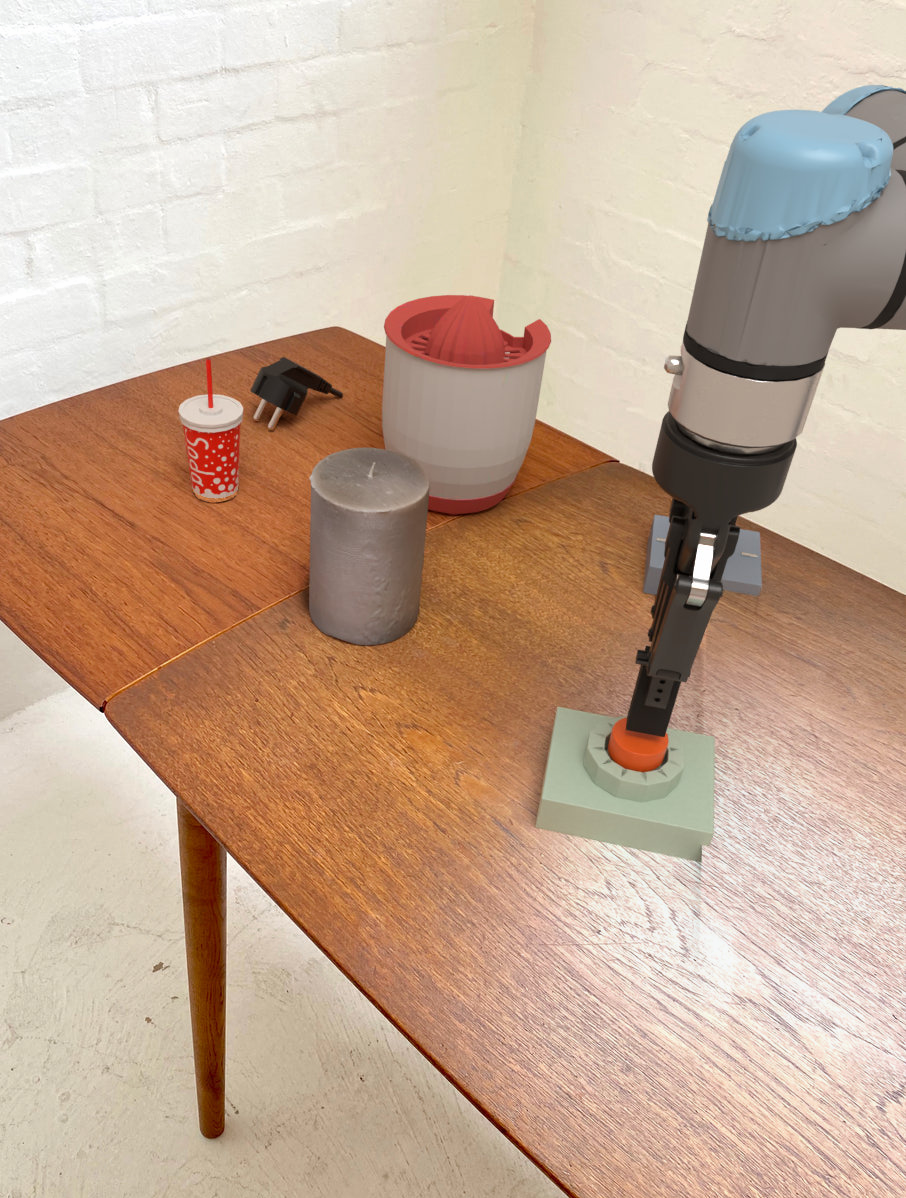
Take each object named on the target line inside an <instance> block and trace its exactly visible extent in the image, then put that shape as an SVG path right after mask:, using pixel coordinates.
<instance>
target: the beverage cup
mask: <svg viewBox="0 0 906 1198" xmlns="http://www.w3.org/2000/svg"><path fill="white" fill-rule="evenodd" d="M205 373H206V387H207V388H206V389H207V394H199V395H195V396H192V397H188V398H187V399H185V400H184V401H183V402H182V403H180V404H179V408H178V415H179V420H180V422H181V424H182V429H183V436H184V444H185V449H186V457H187V462H188V470H189V478H190V485H191V490H192V489H193V490H194V492H195V493H197V494H198V495H201V496H203V497H207V498H215V499H216V498H217V499H218V498H223V497H224V498H225V497H227V496H230V495H233V494H234V493H235V492H236V491H237V490H238V486H239V487H240V452H241V423H242V422H243V418H244V406H243V405H242V404H241V402H240V401H238V400H237V399H235V398H233V397H231V396H227V395H223V394H215V393H213V375H212V358H210V357H207V358H205ZM238 491H239V490H238Z"/></svg>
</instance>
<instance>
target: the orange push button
mask: <svg viewBox="0 0 906 1198" xmlns="http://www.w3.org/2000/svg"><path fill="white" fill-rule="evenodd" d="M626 723H627V717H626V718H623V719H620V720H619V721H617V722H616V723H615V725H614V726H613V729H612V732H611V736H610V740H609V744H608V752H609V755H610V757H611V758H612V760H613V761H614V762H615V763H617V764H618V765H620V766H621V767H623V768H625V769H628V770H633V771H638V772H649V771H652V770H655V769H656V768H658V767H659V766H660V765H661V764H662V762H663V759H664V756H665V753H666V749H667V746H668V742H669V739H668V735H667V733H666V734H665V737H661V736H655V735H650V734H645V733H639V732H634V731H629V730H626Z"/></svg>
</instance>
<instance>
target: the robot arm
mask: <svg viewBox="0 0 906 1198" xmlns="http://www.w3.org/2000/svg"><path fill="white" fill-rule="evenodd" d="M706 221H707V227H706V231H705V237H704V241H703V247H702V249H701V256H700V260H699V265H698V269H697V274H696V279H695V284H694V288H693V292H692V298H691V303H690V306H689V313H688V316H687V321H686V324H685V327H684V331H683V337H682V342H681V346H680V355H668V356H667V357H666V358H665V361H664V364H663V369H664V371H665V372H666V373H667V374H671V375H674V376H673V379H672V383H671V388H670V392H669V396H668V400H667V408H668V411H666V413H665V414H664V415H663V417H662V421H661V426H660V430H659V433H658V438H657V441H656V446H655V450H654V455H653V458H652V463H651V471H652V476H653V478H654V480H655V482H656V484H657V486H659V488H660V489H661V490H662V491H663V492H665V493H666V494H667V495H668V496H670V497H671V498H672V499H671V503H670V507H669V516H668V517H669V522H670V526H669V530H668V534H667V538H666V542H665V551H664V557H665V560H664V565H663V569H662V573H661V577H660V582H659V586H658V590H657V594H656V595H655V599H654V602H653V605H651V609H650V615H651V619H652V623H651V626H650V627H649V628H648V631H647V637H648V642H649V643H650V645H645V647H644V650H643V649H637V650H636V655H635V662H634V663H635V665H639V670H638V673H637V677H636V681H635V685H634V688H633V691H632V697H631V700H630V703H629V708H628V712H627V715H626V716H627V723H626V730H629V731H634V732H639V733H645V734H650V735H655V736H661V737H665V734H666V731H667V728H669V724H670V721H671V717H672V714H673V710H674V708H675V704H676V701H677V697H678V694H679V691H680V687H681V684H682V683H687V682H688V680H689V678H690V677H691V673H692V668H693V665H694V662H695V660H696V657H697V655H698V652H699V649H700V647H701V644H702V642H703V638H704V635H705V633H706V631H707V629H708V625H709V622H710V619H711V617H712V614H713V612H714V610H715V609H716V607H717V606H718V603H719V601H720V599H721V598H722V597H723V596H724V590H723V585H722V582H721V579H722V576H723V573H724V569H725V566H726V563H727V560H728V558H729V557H731V556H732V555H733V554H734V551H735V548H736V545H737V542H738V538H739V533H740V529H741V526H739V525H736V524H737V521H738V517H739V516H741V515H744V514H745V515H746V514H749V513H755V512H758V511H761V510H764V509H766V508H768V507H770V506H771V505H773V503H775V502H776V501H777V500H778V499H779V498H780V496H781V494H782V492H783V489H784V486H785V483H786V480H787V477H788V474H789V471H790V468H791V465H792V463H793V458H794V456H795V453H796V449H797V447H798V442H797V438H798V436H800V435H801V434H802V433H803V431H804V428H805V426H806V422H807V419H808V416H809V414H810V410H811V408H812V404H813V402H814V398H815V396H816V392H817V390H818V386H819V384H820V380H821V378H822V375H823V373H824V370H825V366H826V361H827V357H828V354H829V351H830V348H831V346H832V343H833V340H834V338H835V336H836V333H837V330H838V329H842V328H843V329H859V330H860V329H861V330H875V329H877V330H894V331H906V90H904V88H903V87H893V86H888V85H887V86H886V85H883V84H868V85H862V86H861V85H860V86H858V87H855V88H852V89H850V90H847V91H845V92H844V93H842V94H840V95H839V96H837V97H836V98H835V99H834V100H832V101H830V103H828V104H827V105H826V107H824V108H823V109H822V111H819V110H811V109H782V110H780V109H779V110H773V111H768V112H764V113H761V114H759V115H756V116H754V117H753V118H750V119H749V120H748V121H746V122H745V123H744V124H743V125H742V126H741V127H740V128H739V129H738V131H737V132H736V134H735V135H734V136H733V139H732V141H731V143H730V146H729V150H728V153H727V155H726V159H725V161H724V162H723V167H722V170H721V174H720V176H719V180H718V184H717V187H716V190H715V194H714V198H713V201H712V204H711V205H710V207H709V210H708V213H707V218H706Z"/></svg>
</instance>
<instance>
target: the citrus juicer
mask: <svg viewBox="0 0 906 1198" xmlns="http://www.w3.org/2000/svg"><path fill="white" fill-rule="evenodd" d="M494 307H495V299H493V298H487V297H483V296H476V295H471V294H470V295H467V294H462V295H461V294H445V295H442V294H441V295H432V296H425V297H419V298H416V299H413V300H409V301H405V302H404V303H402V304H400V305H398V306H396V307H395V308H394V309H392V310H391V311H390V312H389V313H388V314H387V316H386V317H385V319H384V323H383V329H384V334H385V351H384V352H385V354H384V367H383V368H384V369H383V370H384V371H383V384H382V385H383V387H382V405H381V427H382V428H381V429H382V436H383V443H384V448H385V449H386V450H390V451H393V452H397V453H400V454H403V455H405V456H407V457H410V458H411V459H413V460H415V461H416V462H417V463H419V464H420V465H421V466H422V467H424V469H425V471H426V472H427V474H428V477H429V481H430V490H429V501H428V511H433V512H439V513H445V514H448V515H451V516H456V515H460V514H462V515H463V514H473V513H478V512H482V511H486V510H488V509H490V508H493V507H495V506H496V505H498V504H499V503H501V502H502V500H503V499H504V498H505V497H506V496H507V494H508V492H509V491H510V490H511V488H512V487H513V485H514V484H515V482H516V480H517V477H518V474H519V472H520V469H521V467H522V466H523V463H524V460H525V458H526V456H527V453H528V450H529V447H530V445H531V442H532V437H533V433H534V429H535V425H536V420H537V415H538V414H537V413H538V408H539V401H540V394H541V387H542V384H543V383H542V382H543V375H544V371H545V363H546V357H547V352H548V351H547V350H548V349H549V348H550V347H551V344H552V334H551V330H550V329H549V327H548V325H547V324H546V322H544V321H543V320H542V319H541V318H538V319H537V320H535V321H533V322H531V323H529V324H527V325H526V326H524V329H523V336H513V335H512V334H510V333H508V332H507V331H505V330H503V329H501V328H500V327H499V325H498V324H497V321H496V320H495V319H494Z"/></svg>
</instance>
